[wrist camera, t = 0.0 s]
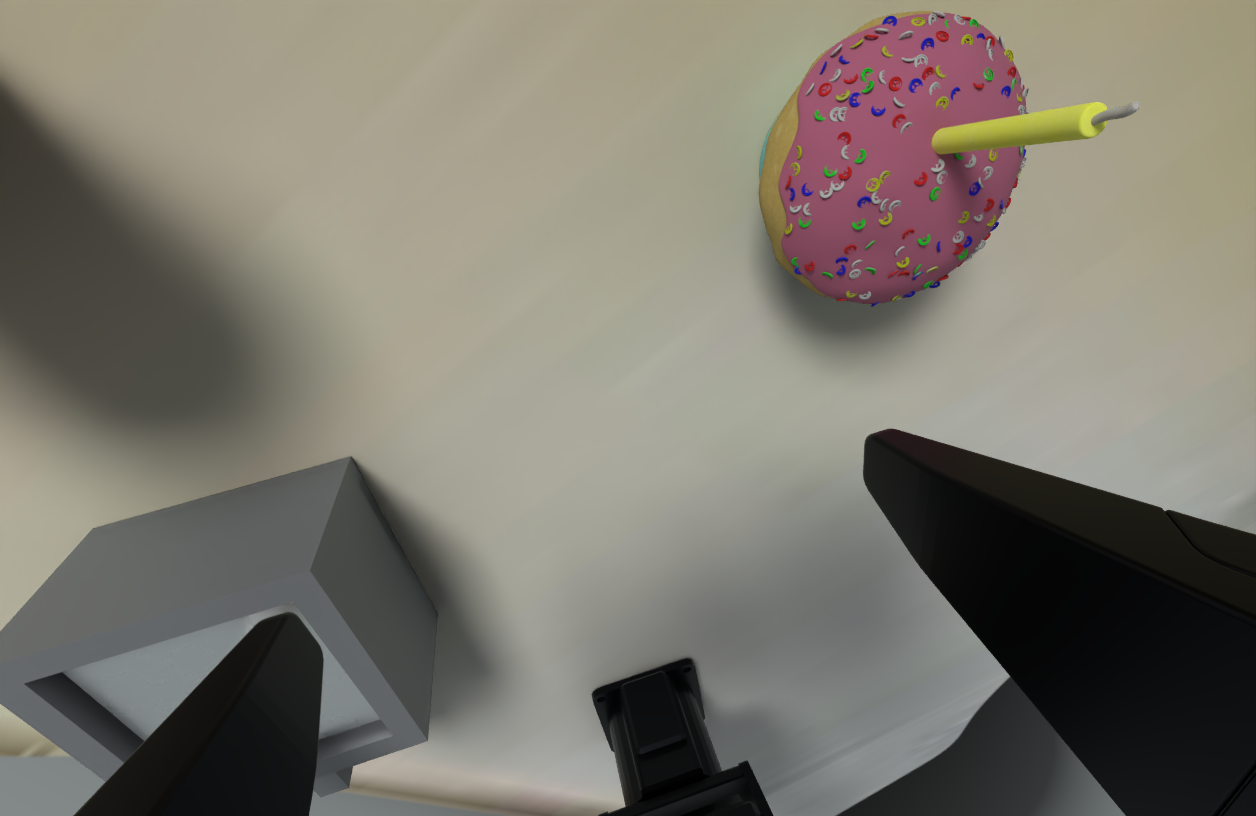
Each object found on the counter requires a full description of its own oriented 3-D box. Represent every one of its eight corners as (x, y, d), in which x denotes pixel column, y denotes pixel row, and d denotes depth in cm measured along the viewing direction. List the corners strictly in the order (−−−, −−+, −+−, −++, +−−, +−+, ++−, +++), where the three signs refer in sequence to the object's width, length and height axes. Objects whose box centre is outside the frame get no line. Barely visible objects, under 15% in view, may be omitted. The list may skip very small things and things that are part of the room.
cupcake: (682, 95, 19) (912, 91, 9) (900, -21, 19) (1383, -160, 9) (753, 305, 24) (960, 459, 14) (930, 211, 24) (1274, 296, 13)
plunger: (383, 705, 23) (343, 957, 16) (199, 765, 22) (77, 1056, 15) (296, 586, 19) (198, 849, 12) (71, 653, 18) (-165, 975, 11)
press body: (454, 644, 29) (449, 771, 24) (259, 707, 28) (206, 855, 23) (350, 456, 23) (309, 570, 17) (92, 528, 22) (-39, 675, 16)
